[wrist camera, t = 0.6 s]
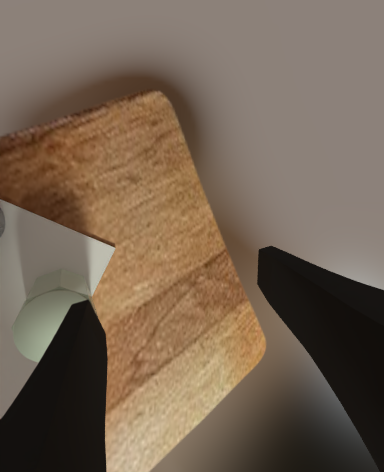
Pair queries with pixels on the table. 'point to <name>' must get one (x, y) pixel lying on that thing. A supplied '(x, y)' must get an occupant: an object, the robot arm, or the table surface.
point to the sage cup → (47, 310)
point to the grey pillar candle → (2, 222)
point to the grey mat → (25, 274)
